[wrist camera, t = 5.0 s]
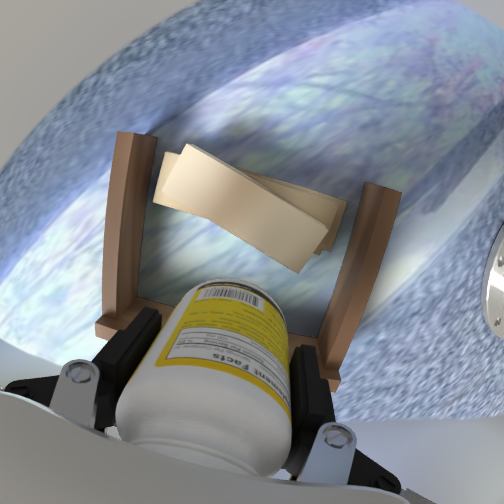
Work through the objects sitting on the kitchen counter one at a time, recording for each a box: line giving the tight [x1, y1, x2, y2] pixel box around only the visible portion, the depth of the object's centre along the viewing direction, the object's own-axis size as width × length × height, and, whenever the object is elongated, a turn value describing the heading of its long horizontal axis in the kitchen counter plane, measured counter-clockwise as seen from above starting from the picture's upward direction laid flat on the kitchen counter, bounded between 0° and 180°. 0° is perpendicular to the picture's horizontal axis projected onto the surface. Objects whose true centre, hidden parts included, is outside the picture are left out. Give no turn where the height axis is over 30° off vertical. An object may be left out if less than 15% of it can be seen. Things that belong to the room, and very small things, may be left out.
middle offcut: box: [153, 152, 338, 255], centre depth 17 cm, size 10×3×1 cm, turn 73°
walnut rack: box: [95, 131, 402, 392], centre depth 17 cm, size 15×12×4 cm
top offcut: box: [161, 144, 328, 274], centre depth 16 cm, size 8×3×1 cm, turn 59°
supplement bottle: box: [115, 278, 292, 478], centre depth 10 cm, size 5×5×10 cm
